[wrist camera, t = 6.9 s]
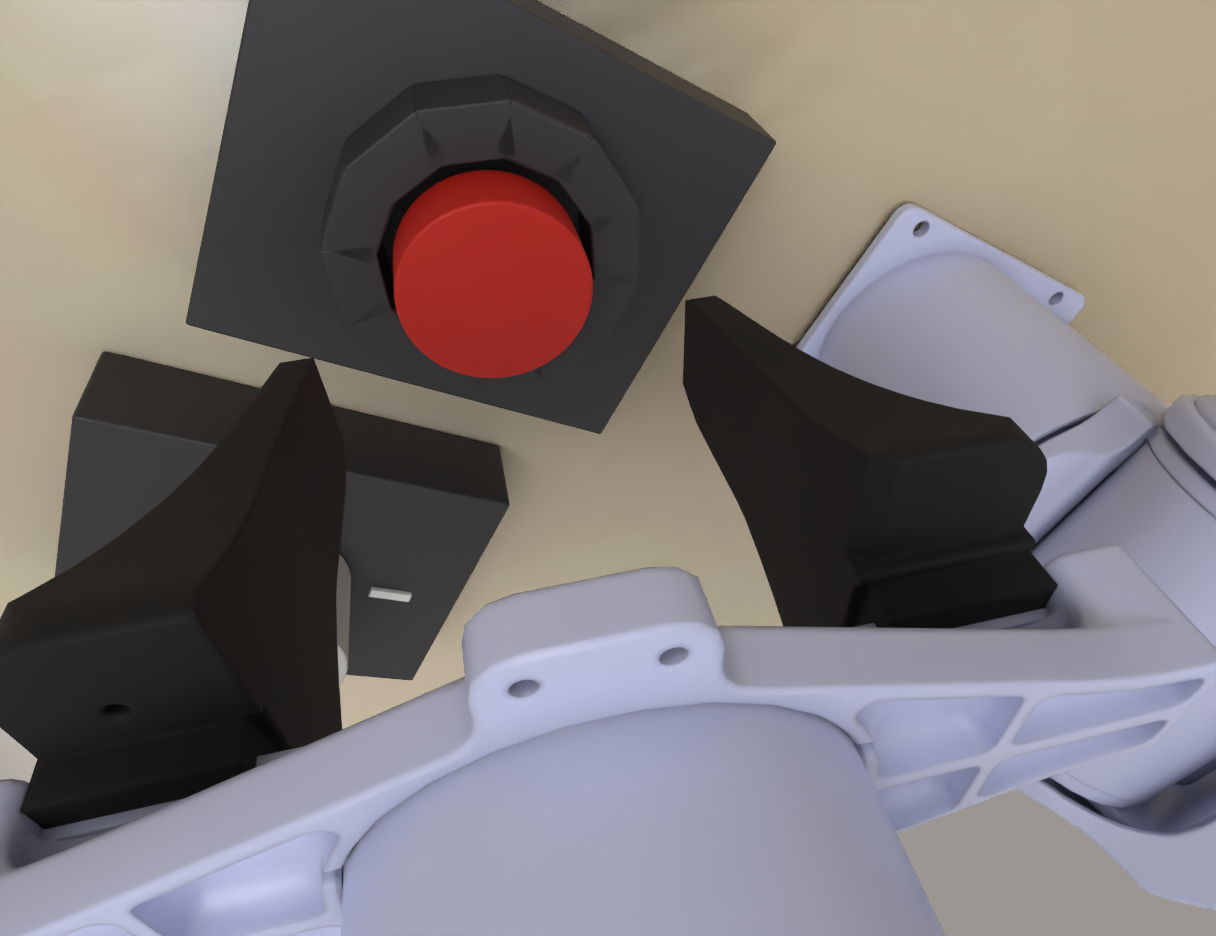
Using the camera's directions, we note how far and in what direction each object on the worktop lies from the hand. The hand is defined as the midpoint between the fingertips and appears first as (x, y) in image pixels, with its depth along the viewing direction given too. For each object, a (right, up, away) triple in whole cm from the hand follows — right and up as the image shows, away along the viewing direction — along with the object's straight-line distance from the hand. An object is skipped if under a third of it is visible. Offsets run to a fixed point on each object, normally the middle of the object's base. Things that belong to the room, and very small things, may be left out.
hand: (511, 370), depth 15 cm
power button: (-1, +3, +3) cm, 4 cm away
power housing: (-2, +5, +6) cm, 8 cm away
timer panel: (-9, -3, +12) cm, 15 cm away
